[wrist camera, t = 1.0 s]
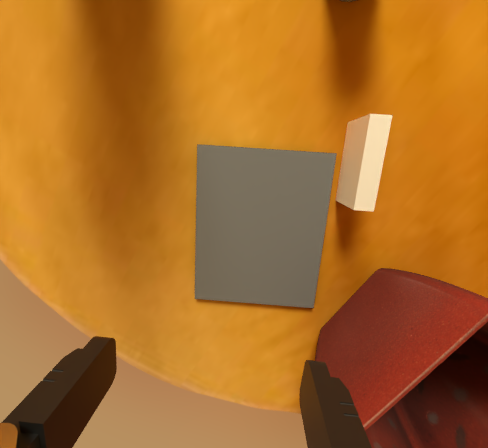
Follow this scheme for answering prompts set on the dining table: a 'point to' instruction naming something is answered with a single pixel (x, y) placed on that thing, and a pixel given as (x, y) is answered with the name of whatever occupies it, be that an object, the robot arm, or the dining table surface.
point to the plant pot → (413, 360)
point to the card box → (363, 161)
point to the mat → (260, 224)
